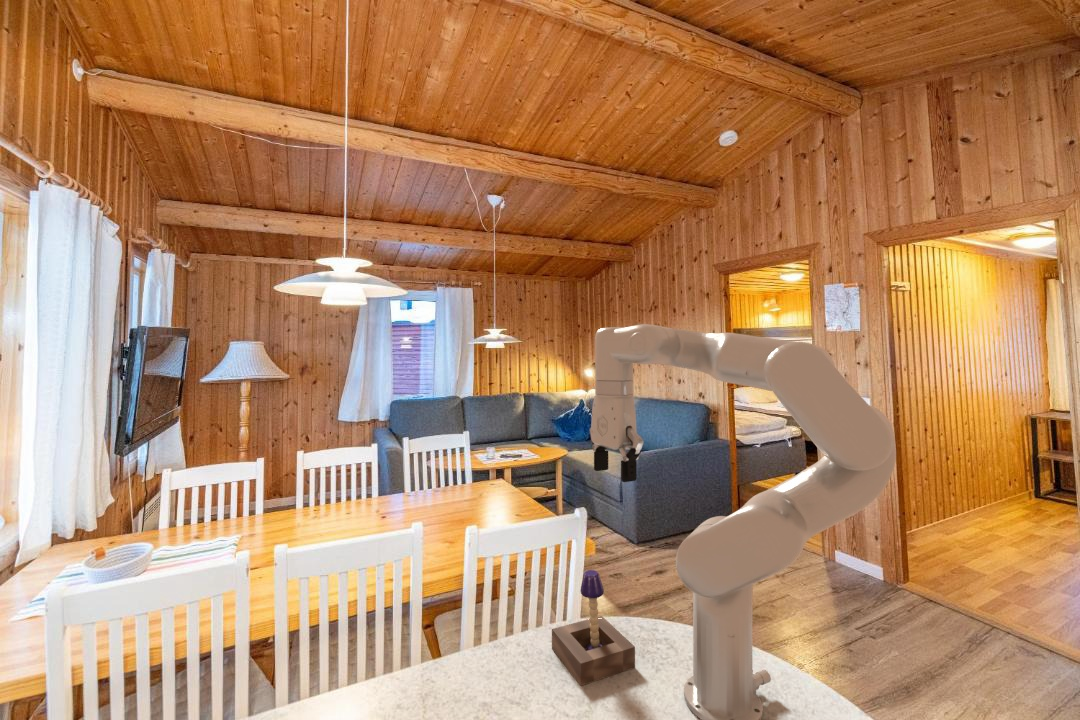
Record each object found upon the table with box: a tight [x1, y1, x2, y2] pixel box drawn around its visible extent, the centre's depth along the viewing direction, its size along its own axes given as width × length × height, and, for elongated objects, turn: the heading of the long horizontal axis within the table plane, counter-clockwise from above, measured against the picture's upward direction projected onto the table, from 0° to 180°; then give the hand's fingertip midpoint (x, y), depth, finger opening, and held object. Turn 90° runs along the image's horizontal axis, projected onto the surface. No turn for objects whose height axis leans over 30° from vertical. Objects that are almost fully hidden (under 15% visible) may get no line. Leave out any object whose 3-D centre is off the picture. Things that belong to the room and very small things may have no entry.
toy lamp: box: [579, 569, 604, 651], centre depth 93 cm, size 5×5×17 cm
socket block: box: [551, 615, 636, 686], centre depth 92 cm, size 12×12×4 cm
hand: (614, 475), depth 92 cm, fingers open, 9 cm apart
